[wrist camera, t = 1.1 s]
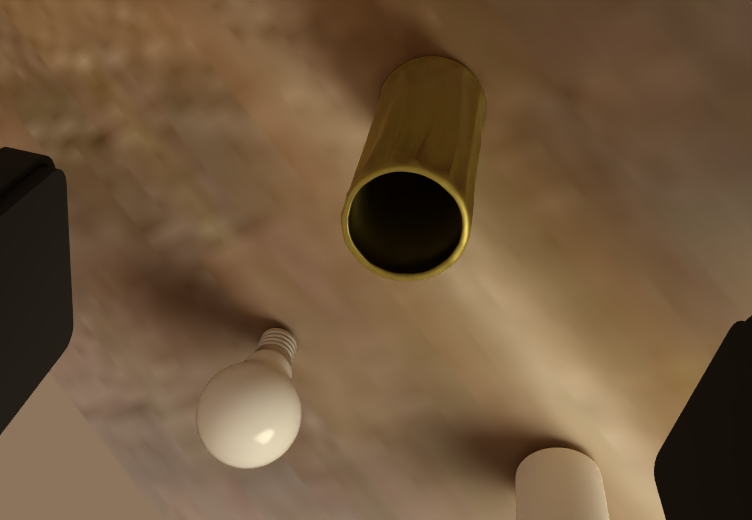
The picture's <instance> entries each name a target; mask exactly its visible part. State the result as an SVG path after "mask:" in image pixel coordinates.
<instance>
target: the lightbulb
mask: <svg viewBox="0 0 752 520" xmlns="http://www.w3.org/2000/svg"><path fill="white" fill-rule="evenodd" d="M297 350H298V343H297V340H296V338H295V337H294V336H293V335H292V334H291V333H290V332H288V331H286V330H284V329H281V328H272V329H269V330H267V331H265V332H264V333H263V334H262V336H261V338H260V341H259V342H258V345H257V347H256V349H255V351H254V353H252V354H251V355H250V356H248V357H247V358H246V360H245V361H244V362H241V363H237V364H234V365H232V366H229V367H227V368H225V369H223V370H222V371H220V372H219V373H218V374H216V375H215V376H214V377H213V378H212V379H211V380H210V381H209V382H208V384H207V385H206V386H205V388H204V389H203V391H202V393H201V395H200V398H199V400H198V404H197V409H196V426H197V431H198V434H199V437H200V439H201V441H202V443H203V445H204V446H205V448H206V449H207V450H208V451H209V453H210V454H211V455H212V456H214V457H215V458H216V459H217V460H219V461H221V462H222V463H224V464H226V465H229V466H232V467H236V468H243V469H250V468H258V467H262V466H265V465H267V464H270V463H271V462H273V461H275V460H277V459H278V458H279V457H281V456H282V455H283V454H284V453H285V452H286V451H287V450H288V449H289V448H290V446H291V445H292V443H293V442H294V440H295V438H296V436H297V434H298V431H299V428H300V424H301V415H302V412H301V403H300V399H299V396H298V393H297V391H296V388H295V387H294V385H293V383H292V381H291V379H292V371H291V365H292V363H293V360H294V357H295V355H296V352H297Z"/></svg>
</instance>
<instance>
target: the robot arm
mask: <svg viewBox="0 0 752 520" xmlns="http://www.w3.org/2000/svg"><path fill="white" fill-rule="evenodd" d="M72 331H73V307H72V287H71V267H70V246H69V226H68V206H67V186H66V177H65V174H64V172H63V171H62V170H60V169H55V165H54V163H53V161H52V159H51V158H50V157H49V156H45V155H41V154H36V153H32V152H27V151H23V150H18V149H14V148H8V147H3V148H1V149H0V435H1V433H2V432H3V431H4V429H5V428H6V427H7V425H8V424H9V423H10V422H11V420H12V419H13V417H14V416H15V415H16V414H17V412H18V411H19V410H20V408H21V407H22V406H23V405H24V403H25V402H26V401H27V399H28V398H29V397H30V395H31V394H32V393H33V391H34V390H35V389H36V388H37V386H38V385H39V384H40V382H41V381H42V380H43V378H44V377H45V376H46V374H47V373H48V372H49V371H50V369H51V368H52V367H53V365H54V364H55V363H56V361H57V360H58V359H59V357H60V356H61V355H62V354H63V352H64V351H65V349H66V348H67V346H68V344H69V342H70V339H71V336H72ZM654 477H655V482H656V486H657V489H658V493H659V497H660V500H661V504H662V507H663V511H664V514H665V518H666V520H752V316H751V317H749V318H748V319H747V320H746V321H738V322H736V323H735V324H733V326H732V327H731V328H730V330H729V332H728V333H727V335H726V337H725V338H724V340H723V342H722V344H721V345H720V347H719V349H718V351H717V352H716V354H715V356H714V357H713V359H712V361H711V363H710V364H709V366H708V368H707V370H706V371H705V373H704V375H703V376H702V378H701V380H700V382H699V383H698V385H697V387H696V389H695V390H694V392H693V394H692V395H691V397H690V399H689V401H688V402H687V404H686V406H685V408H684V409H683V411H682V413H681V414H680V416H679V418H678V420H677V421H676V423H675V425H674V427H673V428H672V430H671V432H670V433H669V435H668V437H667V439H666V440H665V442H664V444H663V445H662V447H661V449H660V451H659V452H658V455H657V457H656V461H655V466H654Z"/></svg>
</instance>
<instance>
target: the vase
mask: <svg viewBox="0 0 752 520" xmlns="http://www.w3.org/2000/svg"><path fill="white" fill-rule="evenodd" d="M485 116H486V102H485V96H484V92H483V90H482V88H481V86H480V84H479V82H478V81H477V79H476V78H475V77H474V75H473V74H472V73H471V72H470V71H469V70H468V69H467V68H465V67H464V66H463V65H461V64H460V63H458V62H456V61H453V60H451V59H448V58H444V57H439V56H424V57H419V58H415V59H412V60H410V61H407V62H405V63H403V64H402V65H400V66H399V67H398V68H396V69H395V70H394V71H393V72H392V73H391V74H390V76H389V77H388V78H387V79H386V81H385V82H384V84H383V86H382V88H381V91H380V95H379V100H378V106H377V109H376V113H375V117H374V120H373V122H372V125H371V128H370V131H369V134H368V137H367V140H366V143H365V146H364V149H363V152H362V155H361V158H360V161H359V163H358V166H357V169H356V172H355V175H354V178H353V181H352V184H351V187H350V189H349V191H348V193H347V196H346V201H345V205H344V207H343V210H342V213H341V225H342V231H343V237H344V240H345V243H346V245H347V247H348V248H349V250H350V251H351V252H352V254H353V255H354V256H355V257H356V259H357V260H358V261H359V262H360V263H361V264H362V265H363V266H364V267H365V268H367V269H368V270H370V271H371V272H373V273H375V274H377V275H380V276H382V277H385V278H388V279H392V280H398V281H416V280H423V279H427V278H430V277H433V276H435V275H437V274H439V273H441V272H443V271H444V270H446V269H447V268H449V267H451V266H452V265H453V264H454V263H455V262H456V261H457V260H458V259H459V257H460V256H461V255H462V253H463V251H464V249H465V246H466V244H467V241H468V239H469V235H470V230H471V224H472V216H473V205H474V189H475V179H476V172H477V165H478V159H479V152H480V146H481V131H482V128H483V126H484V122H485Z"/></svg>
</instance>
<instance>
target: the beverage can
mask: <svg viewBox="0 0 752 520" xmlns="http://www.w3.org/2000/svg"><path fill="white" fill-rule="evenodd" d="M515 489H516V520H609V515H608V509H607V503H606V497H605V492H604V486H603V481H602V476H601V473H600V470H599V468H598V466H597V465H596V463H595V462H594V461H593V460H592V459H591V458H589V457H588V456H586V455H585V454H583V453H581V452H578V451H576V450H572V449H568V448H547V449H542V450H539V451H536V452H534V453H532V454H530V455H529V456H527V457H526V458H525V459H524V460H523V461H522V462H521V463H520V465H519V466H518V468H517V471H516V478H515Z"/></svg>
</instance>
